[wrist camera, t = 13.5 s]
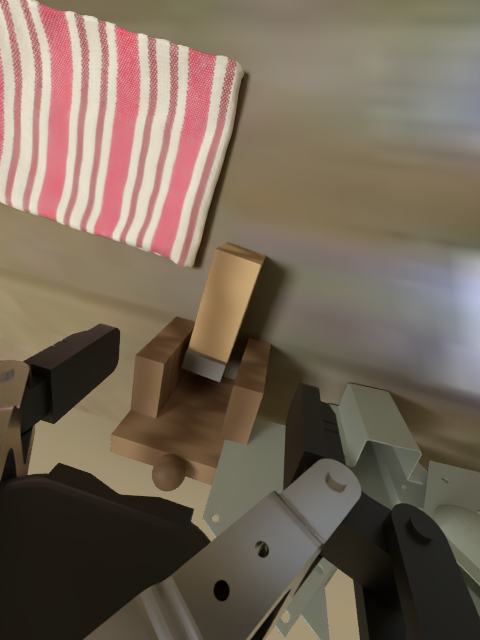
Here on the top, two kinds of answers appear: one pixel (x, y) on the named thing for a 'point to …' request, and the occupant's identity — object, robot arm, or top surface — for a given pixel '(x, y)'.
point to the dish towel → (111, 128)
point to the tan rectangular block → (222, 309)
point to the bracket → (375, 480)
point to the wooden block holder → (187, 409)
